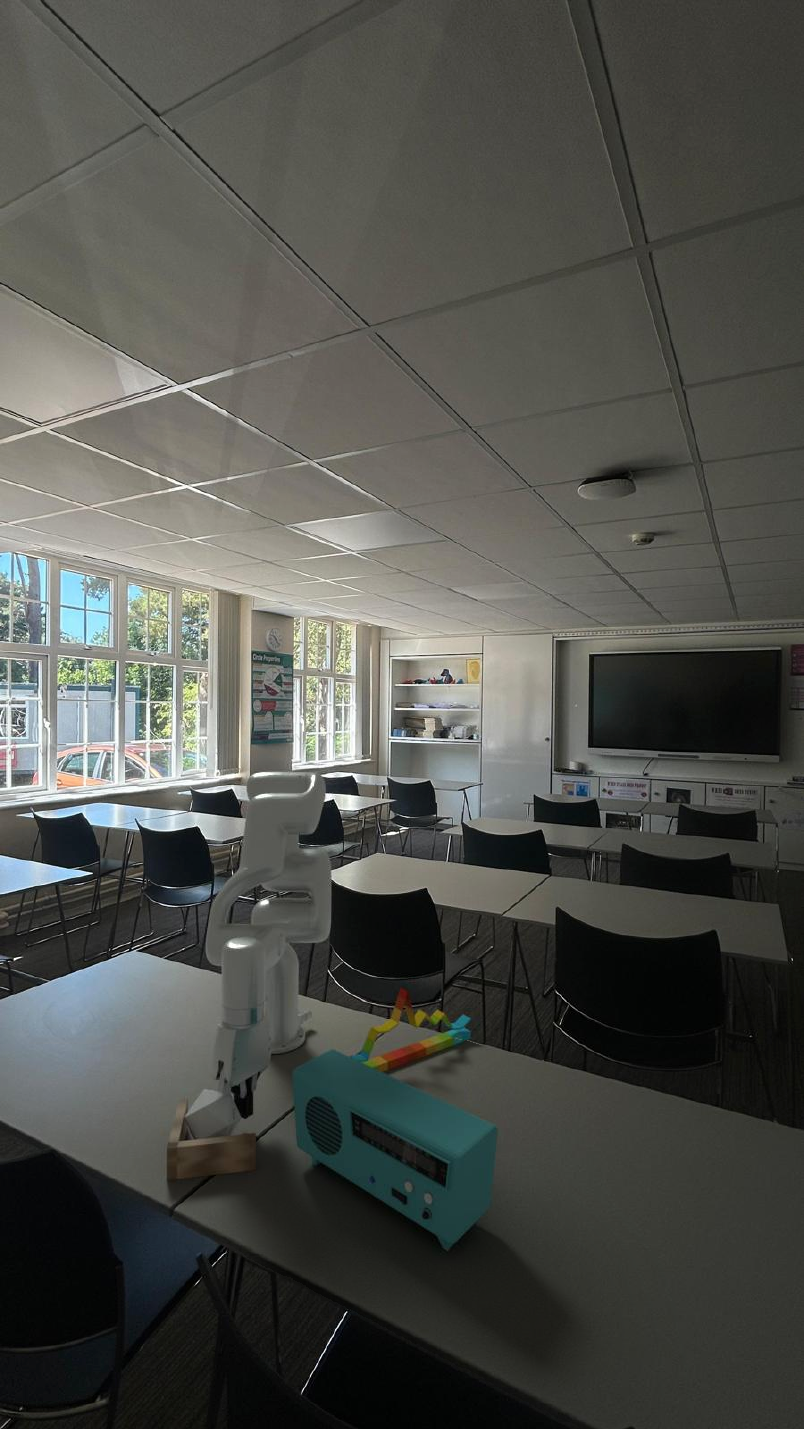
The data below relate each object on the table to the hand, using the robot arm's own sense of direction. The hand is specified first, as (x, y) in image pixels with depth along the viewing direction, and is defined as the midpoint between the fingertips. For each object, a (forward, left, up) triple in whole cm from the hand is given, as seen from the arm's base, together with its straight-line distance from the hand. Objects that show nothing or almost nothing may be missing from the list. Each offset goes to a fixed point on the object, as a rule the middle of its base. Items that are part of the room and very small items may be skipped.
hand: (243, 1114), depth 118 cm
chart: (-38, +11, -3) cm, 40 cm away
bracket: (+11, 0, -3) cm, 11 cm away
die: (+5, -2, -3) cm, 6 cm away
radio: (-1, +30, -3) cm, 30 cm away
